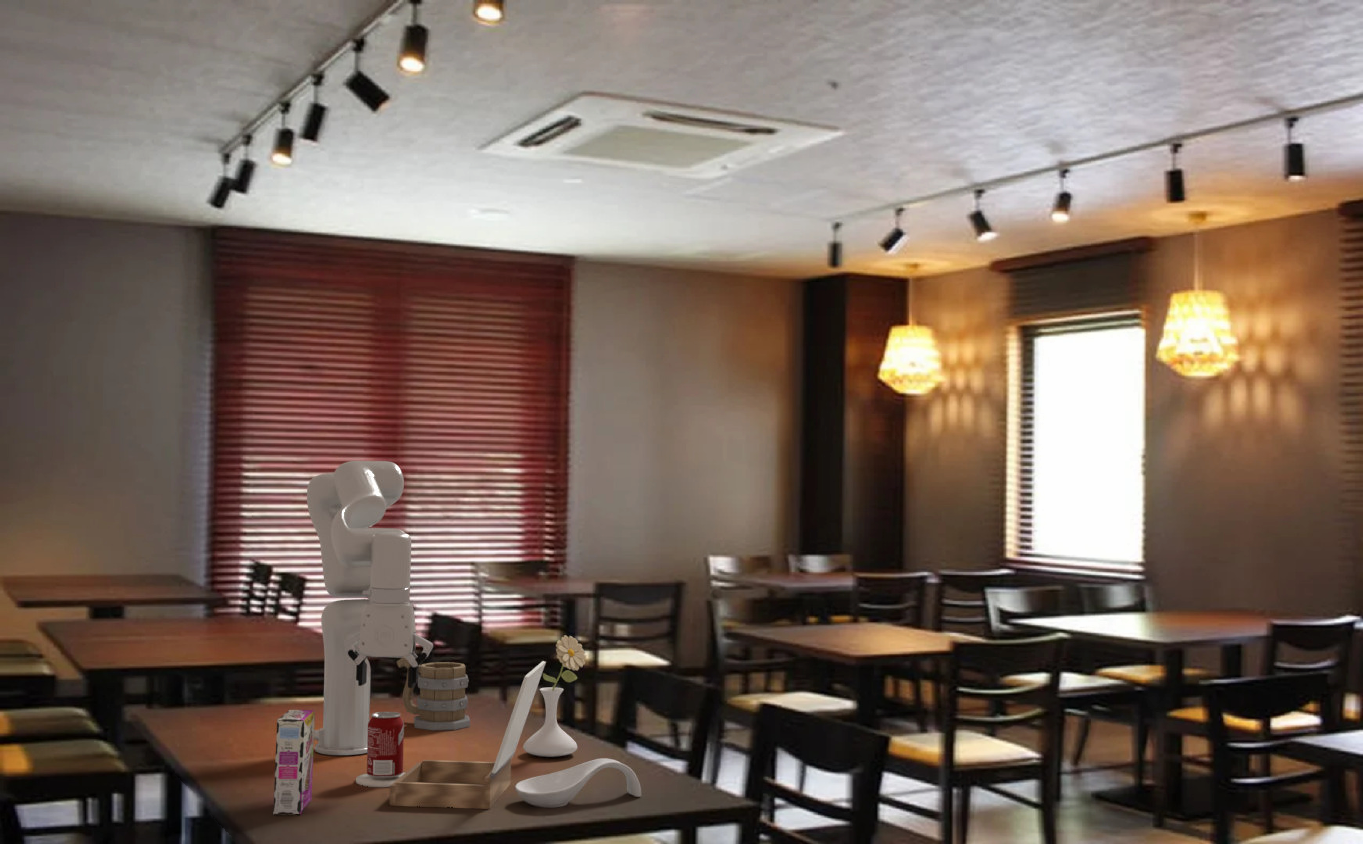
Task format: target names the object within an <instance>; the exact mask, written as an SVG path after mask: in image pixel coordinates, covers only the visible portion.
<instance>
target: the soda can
mask: <svg viewBox="0 0 1363 844" xmlns="http://www.w3.org/2000/svg"><path fill="white" fill-rule="evenodd" d="M401 714H402V713H400V712H398V711H378V712H374V713H371V714H370V716H371V718H370V719H369V723H368V742H367V753H366V755H367V756H366V757H367V759H366V760H367V761H366V762H367V763H366V774H367V775H368V776H370V777H372V779H376V780H390V779H395V778H398V776H400V775H402V774H403V772H404V742H405V741H404V732H405V730H404V729H405V723H404V721H403V719H402V717H401Z"/></svg>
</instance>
